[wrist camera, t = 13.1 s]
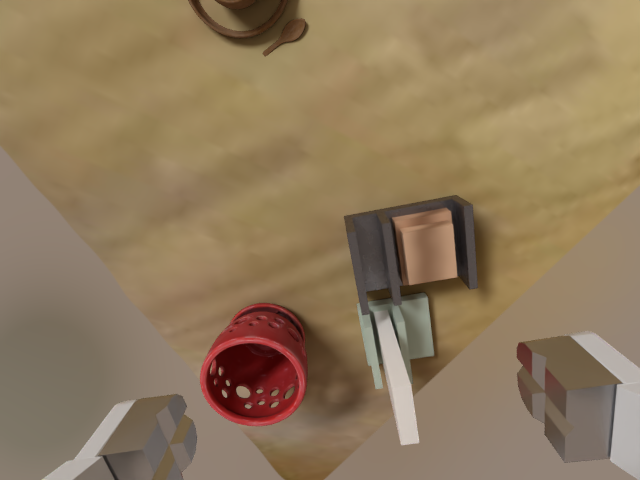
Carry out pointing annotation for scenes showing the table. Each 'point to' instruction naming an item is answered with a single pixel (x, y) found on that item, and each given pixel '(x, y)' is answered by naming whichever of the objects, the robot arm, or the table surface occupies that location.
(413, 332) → the sheet stand
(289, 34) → the place setting
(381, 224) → the offcut rack
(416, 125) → the table surface
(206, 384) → the plant pot
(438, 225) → the offcut upper
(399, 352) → the tall sheet
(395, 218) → the offcut lower
